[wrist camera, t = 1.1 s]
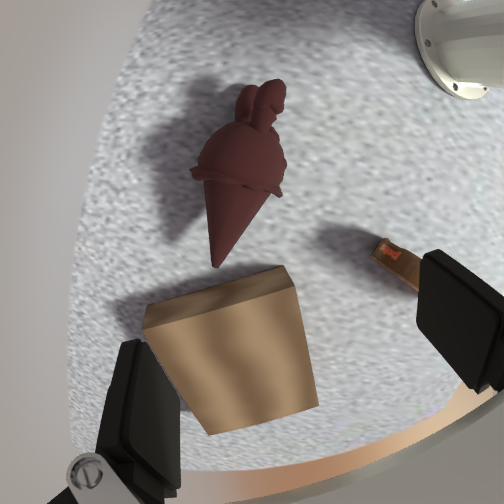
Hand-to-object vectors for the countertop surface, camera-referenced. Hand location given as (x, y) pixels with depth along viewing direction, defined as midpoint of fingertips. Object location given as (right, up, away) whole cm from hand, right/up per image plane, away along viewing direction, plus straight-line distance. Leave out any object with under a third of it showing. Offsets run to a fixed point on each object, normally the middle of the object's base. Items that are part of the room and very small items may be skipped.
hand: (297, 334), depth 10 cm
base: (-3, -9, +24) cm, 26 cm away
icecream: (-3, +10, +17) cm, 20 cm away
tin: (+16, +1, +24) cm, 29 cm away
